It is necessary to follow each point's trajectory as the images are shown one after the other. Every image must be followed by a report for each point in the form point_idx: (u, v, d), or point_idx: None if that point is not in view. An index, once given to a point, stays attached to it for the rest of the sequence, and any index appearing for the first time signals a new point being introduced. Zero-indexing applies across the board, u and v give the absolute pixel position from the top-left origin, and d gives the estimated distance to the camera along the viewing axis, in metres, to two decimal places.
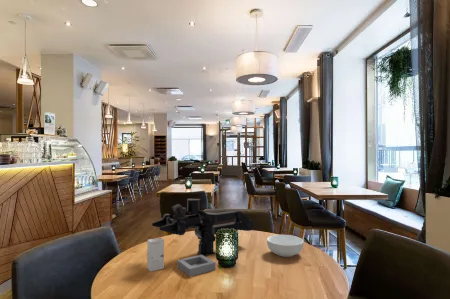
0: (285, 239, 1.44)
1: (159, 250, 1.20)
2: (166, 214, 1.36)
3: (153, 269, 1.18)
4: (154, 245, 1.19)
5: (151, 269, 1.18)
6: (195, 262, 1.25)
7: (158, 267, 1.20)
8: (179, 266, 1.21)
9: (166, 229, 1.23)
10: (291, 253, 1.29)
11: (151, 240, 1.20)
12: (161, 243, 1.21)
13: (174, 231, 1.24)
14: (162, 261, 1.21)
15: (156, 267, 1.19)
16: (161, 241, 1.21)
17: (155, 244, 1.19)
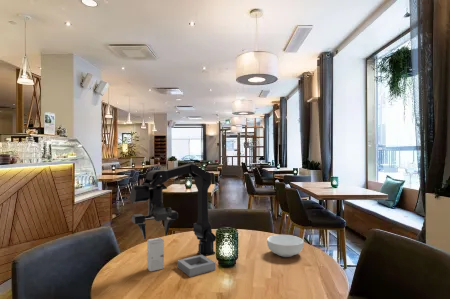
0: (285, 239, 1.44)
1: (159, 250, 1.20)
2: (140, 221, 1.15)
3: (153, 269, 1.18)
4: (154, 245, 1.19)
5: (151, 269, 1.18)
6: (195, 262, 1.25)
7: (158, 267, 1.20)
8: (179, 266, 1.21)
9: None
10: (291, 253, 1.29)
11: (151, 240, 1.20)
12: (161, 243, 1.21)
13: None
14: (162, 261, 1.21)
15: (156, 267, 1.19)
16: (161, 241, 1.21)
17: (155, 244, 1.19)
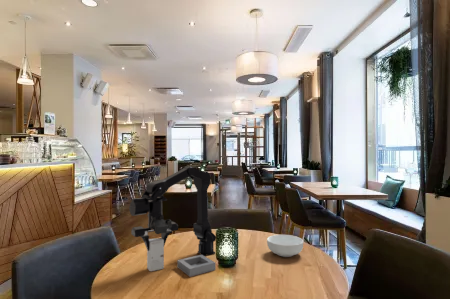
0: (285, 239, 1.44)
1: (159, 250, 1.20)
2: (140, 234, 1.15)
3: (153, 269, 1.18)
4: (154, 245, 1.19)
5: (151, 269, 1.18)
6: (195, 262, 1.25)
7: (158, 267, 1.20)
8: (179, 266, 1.21)
9: None
10: (291, 253, 1.29)
11: (151, 240, 1.20)
12: (161, 243, 1.21)
13: None
14: (162, 261, 1.21)
15: (156, 267, 1.19)
16: (161, 241, 1.21)
17: (155, 244, 1.19)
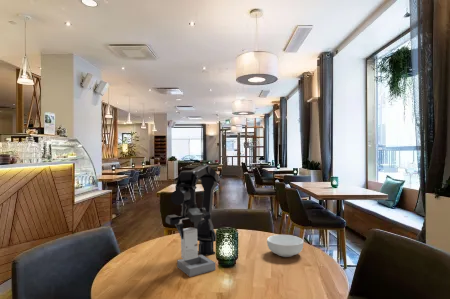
0: (285, 239, 1.44)
1: (193, 239, 1.20)
2: (175, 222, 1.15)
3: (188, 258, 1.19)
4: (188, 234, 1.19)
5: (186, 258, 1.18)
6: (195, 262, 1.25)
7: (193, 256, 1.20)
8: (179, 266, 1.21)
9: None
10: (291, 253, 1.29)
11: (185, 230, 1.20)
12: (195, 233, 1.20)
13: None
14: (196, 250, 1.21)
15: (191, 256, 1.19)
16: (195, 230, 1.20)
17: (189, 233, 1.19)
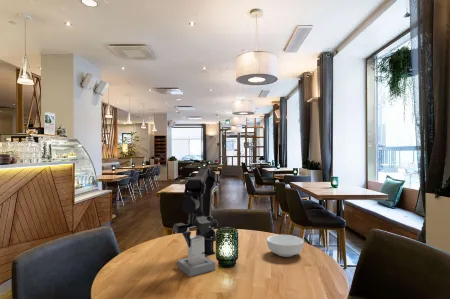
0: (285, 239, 1.44)
1: (200, 247, 1.20)
2: (183, 231, 1.14)
3: None
4: (195, 243, 1.19)
5: None
6: None
7: None
8: (179, 266, 1.21)
9: None
10: (291, 253, 1.29)
11: (192, 238, 1.20)
12: (202, 241, 1.20)
13: None
14: (203, 258, 1.20)
15: (198, 264, 1.19)
16: (202, 238, 1.20)
17: (196, 241, 1.19)
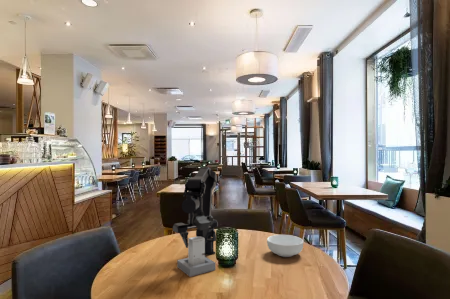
0: (285, 239, 1.44)
1: (200, 248, 1.20)
2: (183, 231, 1.14)
3: None
4: (196, 243, 1.19)
5: None
6: None
7: None
8: (179, 266, 1.21)
9: None
10: (291, 253, 1.29)
11: (192, 238, 1.20)
12: (202, 242, 1.21)
13: None
14: (203, 259, 1.21)
15: None
16: (202, 239, 1.21)
17: (196, 242, 1.19)
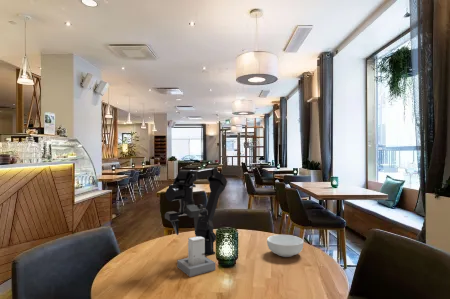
0: (285, 239, 1.44)
1: (200, 248, 1.20)
2: (174, 218, 1.22)
3: None
4: (195, 243, 1.19)
5: None
6: None
7: None
8: (179, 266, 1.21)
9: None
10: (291, 253, 1.29)
11: (192, 238, 1.20)
12: (202, 242, 1.21)
13: None
14: (203, 259, 1.21)
15: None
16: (202, 239, 1.21)
17: (196, 242, 1.19)
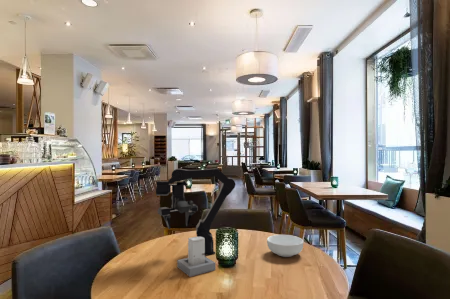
0: (285, 239, 1.44)
1: (200, 248, 1.20)
2: (166, 213, 1.32)
3: None
4: (195, 243, 1.19)
5: None
6: None
7: None
8: (179, 266, 1.21)
9: None
10: (291, 253, 1.29)
11: (192, 238, 1.20)
12: (202, 242, 1.21)
13: None
14: (203, 259, 1.21)
15: None
16: (202, 239, 1.21)
17: (196, 242, 1.19)
